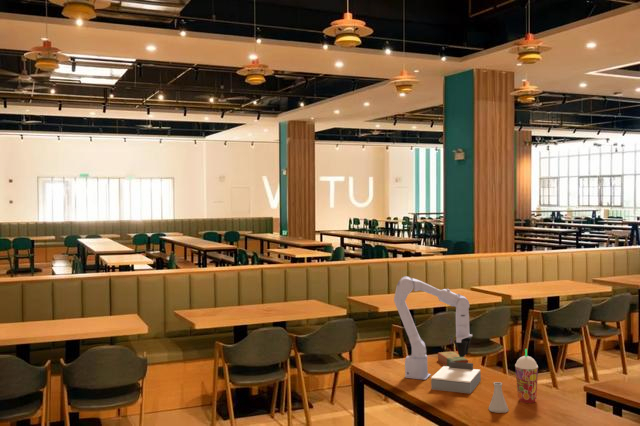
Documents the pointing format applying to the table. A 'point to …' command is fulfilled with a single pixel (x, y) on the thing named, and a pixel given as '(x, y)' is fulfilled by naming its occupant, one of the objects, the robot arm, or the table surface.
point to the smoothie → (526, 378)
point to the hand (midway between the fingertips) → (463, 355)
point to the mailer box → (456, 385)
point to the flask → (498, 400)
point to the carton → (450, 358)
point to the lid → (457, 372)
